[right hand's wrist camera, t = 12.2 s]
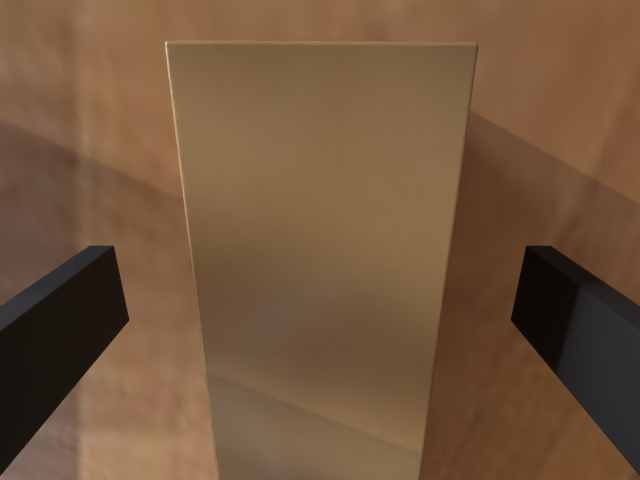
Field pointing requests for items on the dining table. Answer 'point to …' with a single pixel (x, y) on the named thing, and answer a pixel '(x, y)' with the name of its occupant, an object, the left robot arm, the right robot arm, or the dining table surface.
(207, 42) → the bar
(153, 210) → the dining table surface
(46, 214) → the dining table surface
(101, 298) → the right robot arm
